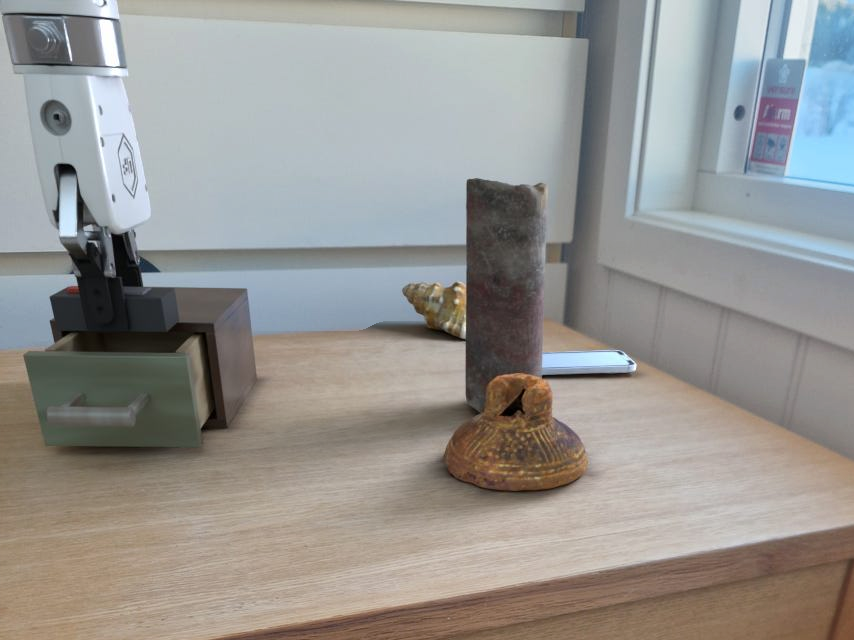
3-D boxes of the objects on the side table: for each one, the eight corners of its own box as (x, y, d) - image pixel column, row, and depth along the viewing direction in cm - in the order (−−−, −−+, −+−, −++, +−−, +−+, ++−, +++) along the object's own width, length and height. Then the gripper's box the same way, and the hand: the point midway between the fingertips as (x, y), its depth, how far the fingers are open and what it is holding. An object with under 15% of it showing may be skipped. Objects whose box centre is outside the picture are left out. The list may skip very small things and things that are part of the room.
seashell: (425, 365, 111) (390, 288, 108) (439, 360, 118) (406, 288, 115) (491, 333, 108) (457, 253, 105) (501, 330, 115) (469, 255, 113)
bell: (616, 471, 72) (626, 382, 68) (509, 507, 65) (513, 410, 62) (518, 434, 80) (522, 351, 76) (413, 462, 73) (411, 374, 69)
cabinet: (227, 428, 79) (213, 322, 74) (72, 426, 78) (49, 320, 74) (257, 380, 92) (247, 288, 87) (125, 378, 92) (107, 285, 87)
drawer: (182, 473, 67) (167, 376, 63) (16, 471, 67) (-10, 374, 63) (234, 395, 84) (224, 316, 80) (102, 394, 84) (86, 314, 80)
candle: (451, 401, 87) (452, 175, 77) (515, 393, 90) (525, 174, 80) (486, 424, 82) (493, 182, 71) (554, 414, 85) (570, 181, 74)
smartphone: (493, 353, 101) (620, 349, 103) (493, 362, 101) (620, 358, 103) (503, 370, 95) (638, 365, 96) (503, 379, 95) (637, 374, 97)
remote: (179, 321, 73) (174, 283, 71) (166, 332, 69) (160, 293, 68) (75, 319, 72) (67, 282, 71) (56, 331, 69) (47, 292, 67)
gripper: (81, 47, 54) (136, 350, 64) (155, 57, 68) (190, 304, 78) (-43, 44, 54) (30, 349, 64) (57, 54, 68) (104, 302, 78)
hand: (118, 321), depth 71 cm, fingers closed on remote, 4 cm apart
